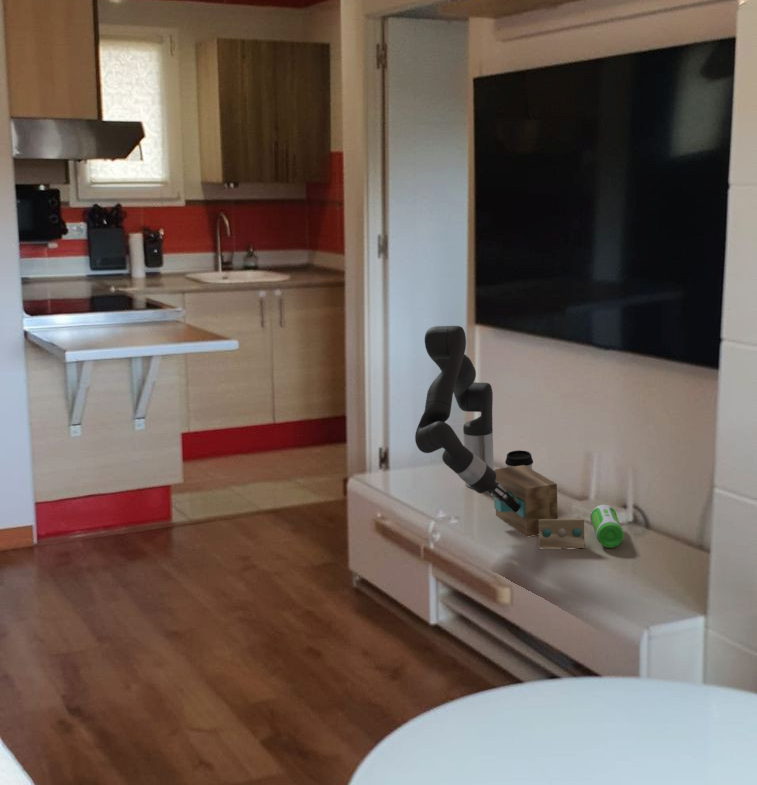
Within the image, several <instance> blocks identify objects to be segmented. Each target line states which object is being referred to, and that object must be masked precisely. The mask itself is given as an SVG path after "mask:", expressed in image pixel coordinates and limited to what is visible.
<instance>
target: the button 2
mask: <svg viewBox="0 0 757 785" xmlns="http://www.w3.org/2000/svg"><path fill="white" fill-rule="evenodd" d="M516 503H518V504H519V505H520V509H519V510H518V511H517V512H516V513H517V514H518V515H520V516H521V517H523V518H525V505H524V501H523V500H521V499H519V498H516Z"/></svg>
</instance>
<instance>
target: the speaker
mask: <svg viewBox="0 0 757 785" xmlns="http://www.w3.org/2000/svg"><path fill="white" fill-rule="evenodd" d="M590 523H591V525H592V527H593V530H594V532H595V537H596V540H597V542H598V543H599V544H600V545H601V546H603V547H605V548H608V549H609V548H616V547H618V546H619V545H620V544H621V542H622V541H623V538H624V529H623V527H622V525H621V524H620V521H619V518H618V515H617V512H616V511H615V509H614V508H613V507H612V506H610V505H608V504H599V505H597V506H595V507H594V508H593V509H592V511H591V513H590Z"/></svg>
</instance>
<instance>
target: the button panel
mask: <svg viewBox="0 0 757 785" xmlns="http://www.w3.org/2000/svg"><path fill="white" fill-rule="evenodd" d="M494 471H495V472H496V480H495V481H496V482H497V483H499V484H501V485H502V486H503V488H504V489H505V490H506V491H509V492H510V493H512V494H513V495H514V501H515V502H516V498H519V499H521V500H523V501H524V505H525V518H523V517H521V516H520V515H518V514H517V513H516V512H515V511H507V512H499V511H498V510H496V509H495V516H497V517H498V518H499V519H500V520H502V521H504V523H506V524H508V526H511V527H512V528H514V529H515V530H517V531H518V532H519V533H520V532H521V534H522V535H523V534H524V535H523V536H524V537H526V536H531V537H533V536H532V535H536V536H539V535H538V534H539V519H559V518H558V516H559V515H558V483H556V482H554V481H552V480H551V479H549V478H548V477H546V476H545V475H543V474H540V473H539V472H537V471H535V470H534V469H533V468H532V469H530V468H528V467H527V466H525V465H521V466H514V467H508V468H507V467H503V468H494Z"/></svg>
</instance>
